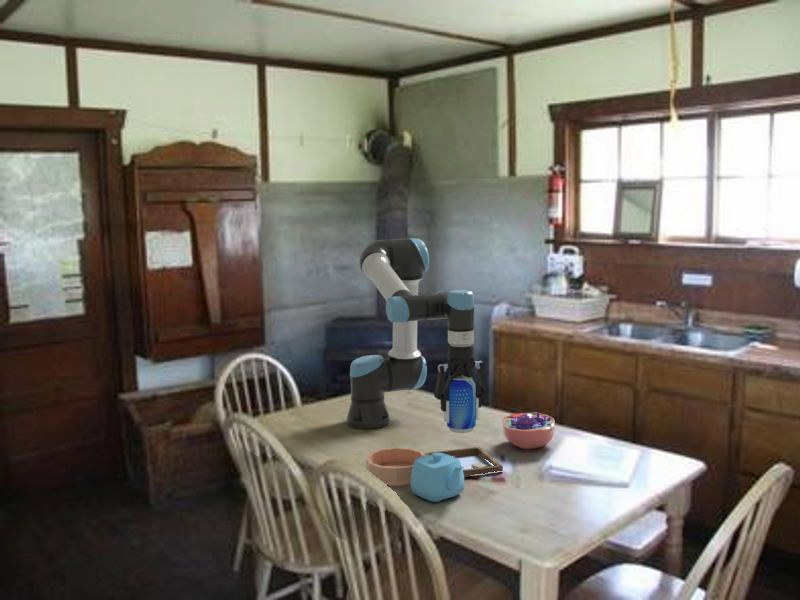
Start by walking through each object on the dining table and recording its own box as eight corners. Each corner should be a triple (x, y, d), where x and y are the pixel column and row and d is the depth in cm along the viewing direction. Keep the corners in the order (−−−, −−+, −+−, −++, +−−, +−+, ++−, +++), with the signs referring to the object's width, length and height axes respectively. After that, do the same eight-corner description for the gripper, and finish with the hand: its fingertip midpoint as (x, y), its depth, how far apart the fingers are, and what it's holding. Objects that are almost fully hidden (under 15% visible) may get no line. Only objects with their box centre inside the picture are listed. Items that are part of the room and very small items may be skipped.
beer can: (478, 426, 227) (478, 373, 224) (471, 435, 219) (471, 380, 216) (451, 423, 230) (450, 371, 227) (443, 432, 222) (442, 378, 219)
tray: (423, 459, 232) (423, 453, 231) (479, 452, 236) (479, 446, 236) (443, 480, 214) (443, 473, 214) (502, 472, 219) (502, 466, 219)
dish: (359, 467, 226) (358, 451, 225) (417, 460, 231) (417, 444, 230) (374, 489, 209) (373, 472, 208) (436, 481, 214) (436, 464, 213)
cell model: (562, 439, 247) (562, 405, 246) (546, 459, 229) (547, 423, 228) (511, 433, 254) (511, 400, 253) (492, 452, 237) (492, 417, 235)
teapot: (445, 513, 193) (445, 470, 191) (401, 492, 207) (400, 451, 205) (481, 500, 200) (481, 458, 199) (436, 481, 214) (436, 441, 213)
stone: (471, 471, 221) (471, 464, 221) (478, 469, 223) (478, 462, 223) (479, 475, 218) (479, 467, 218) (487, 473, 220) (487, 465, 220)
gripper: (429, 349, 214) (430, 427, 217) (500, 343, 220) (499, 420, 223) (421, 344, 221) (422, 419, 225) (490, 338, 227) (489, 412, 230)
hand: (461, 419), depth 224 cm, fingers closed on beer can, 8 cm apart
